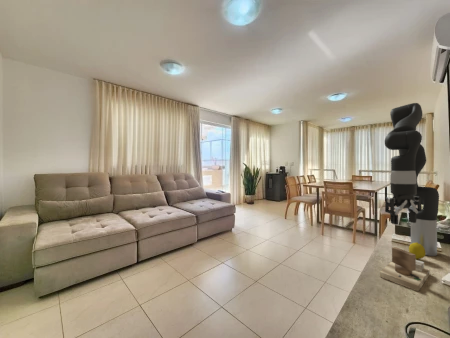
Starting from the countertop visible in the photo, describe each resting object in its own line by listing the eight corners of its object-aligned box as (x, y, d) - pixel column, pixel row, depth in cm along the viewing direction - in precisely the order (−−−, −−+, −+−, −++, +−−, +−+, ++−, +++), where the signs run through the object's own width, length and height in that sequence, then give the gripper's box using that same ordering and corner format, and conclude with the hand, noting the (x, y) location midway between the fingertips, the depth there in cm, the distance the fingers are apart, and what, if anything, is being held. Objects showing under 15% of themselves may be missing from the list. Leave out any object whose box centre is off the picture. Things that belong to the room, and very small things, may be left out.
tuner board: (394, 263, 86) (394, 253, 86) (429, 274, 77) (429, 263, 77) (379, 276, 76) (379, 265, 76) (418, 291, 67) (418, 278, 67)
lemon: (429, 262, 86) (428, 245, 86) (414, 261, 87) (414, 244, 87) (419, 256, 92) (419, 240, 91) (405, 256, 93) (405, 239, 93)
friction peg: (389, 268, 78) (388, 247, 78) (399, 266, 79) (398, 246, 79) (412, 280, 70) (412, 257, 70) (423, 278, 71) (423, 256, 71)
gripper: (407, 180, 80) (407, 219, 80) (378, 182, 77) (379, 221, 78) (429, 182, 72) (429, 224, 73) (398, 183, 70) (398, 227, 70)
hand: (403, 223), depth 75 cm, fingers open, 8 cm apart
